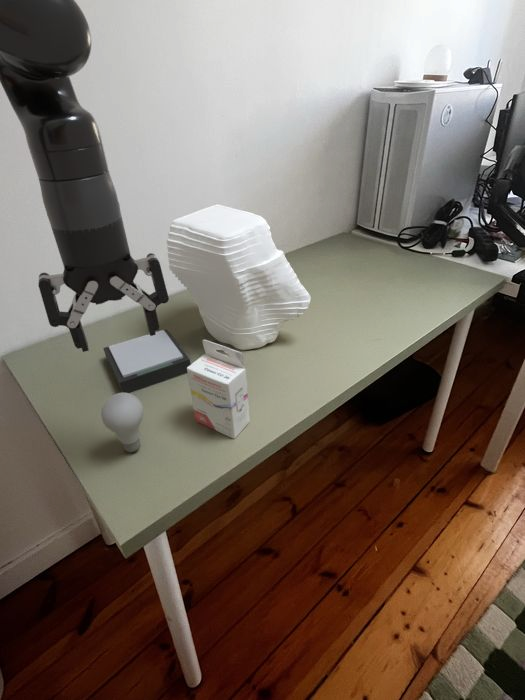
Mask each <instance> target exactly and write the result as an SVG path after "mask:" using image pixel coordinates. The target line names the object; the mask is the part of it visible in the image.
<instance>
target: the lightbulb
mask: <svg viewBox="0 0 525 700" xmlns="http://www.w3.org/2000/svg"><path fill="white" fill-rule="evenodd" d="M100 411H101V412H100V417H101V420H102V423H103V425H104V426H105V427H106V428H107V429H108V430H109V431H111V432H112V433H114V434H116V436H117V437H118V439H119V441H120V443H121V444H122V445H123V448H124V450H125V451H126V452H129V453H134V452H136V451H137V450H139V449H140V448H141V439H140V437H141V433H140V426H141V423H142V421H143V418H144V406H143V404H142V401H140V399H139V398H138V397H137V396H135V395H134V394H133V393H122V392H118V393H115V394H112V395H111V396H109V397H108V398H107V399H106V400H105V401H104V403H103V405H102V407H101V410H100Z"/></svg>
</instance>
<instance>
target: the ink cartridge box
mask: <svg viewBox="0 0 525 700" xmlns="http://www.w3.org/2000/svg"><path fill="white" fill-rule="evenodd" d="M201 342H202V346H203V350H204V353H203V355H201V356H200V357H199V358H197V359H196V360H195V361H194V362H192V363H191V365H190V366H189V367H187V372H188V373H187V377H188V383H189V389H190V395H191V401H192V406H193V413H194V418H195V422H197V423H199V424H201V425H203V426H205V427H207V428H210V429H212V430H213V431H216V432H218V433H220V434H223V435H224V436H227V437H229V438H231V439H234V440H235V439H236V438H237V437H238V436H239V435H240V434H241V433H242V432H243V430H244V429H245V428H246V427H247V426H248V424H250V421H251V420H250V419H251V417H250V407H249V395H248V394H249V393H248V384H247V371H246V367H245V361H244V355H243V353H242V352H241V351H239V350H235V349H233V348H230V347H227V346H225V345H221V344H219V343H216V342H213V341H211V340H208V339H202V341H201ZM219 351H223V352H224V353H225V354H223V353H221V352H219ZM226 354H228V355H226Z"/></svg>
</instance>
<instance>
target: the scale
mask: <svg viewBox="0 0 525 700" xmlns="http://www.w3.org/2000/svg"><path fill="white" fill-rule="evenodd" d="M155 334H156V335H153V336H150V334H145V335H142V336H138V337H135V338H132V339H129V340H125V341H121V342H118V343H115V344H111V345H108V346H105V347H103V349H102V350H103V351H104V356H105V359H106V361H107V363H108V366H109V368H110V370H111V373H112V374H113V376H114V379H115V381H116V383H117V385H118V387H119V389H120V393H129V394H131V393H134V392H136V391H138V390H141V389H144V388H147V387H151V386H153V385H156V384H159V383H161V382H165V381H167V380H170V379H173V378H176V377H179V376H182V375H184V374H188V372H187V367H189V366H190V365H191V364H192V363H191V358H190V357H189V356H188V355H187V353H186V351H184V349H183V348H182V347H181V346H180V344H179V342H178V341H177V339H176V338H175V337H174V336H173V335H172V333H171V332H170V330H169V329H168V328H165V329H162V330H157V331H155Z"/></svg>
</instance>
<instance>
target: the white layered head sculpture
mask: <svg viewBox="0 0 525 700" xmlns="http://www.w3.org/2000/svg"><path fill="white" fill-rule="evenodd" d="M272 234H273V233H272V232H271V226H270V225H269V224H268V222H267V220H266V219H265V218H264V217H263V216H261V215H260V214H255V213H253V212H250V211H246V210H243V209H238V208H234V207H230V206H227V205H222V204H218V203H216V204H213V205H210V206H207V207H205V208H202V209H200V210H196V211H194V212H191V213H189V214H186V215H182V216H181V217H178V218H175V219H174V220H172V224H170V225H169V232H168V233H167V235H168V239H166V244H167V247H166V248H167V257H168V259H167V260H168V262H169V263H168V264H169V265H168V268H169V271H171V273H172V274H174V276H175V278H177V280H178V281H179V282H180V284H182V285H183V287H185V288H186V290H187V291H188V294H189V297H190V298H191V299H192V301H193V302H194V303H195V304H196V306H197V308H198V311H199V312H198V313H199V314H200V317H201V318H202V321H203V324H204V326H205V327H206V331H207V332H208V333H209V334H210V335H211V336H212V337H213V338H214V339H215V340H217V341H218V342H220V343H224V344H228V345H231V346H232V347H234V348H235V349H237V350H242V351H247V350H252V349H259V348H262V347H264V346H266V345H267V344H270V343H273V342H275V341H276V339H277V338H278V335H279V334H280V332H281V331H282V330H281V329H282V328H283V326H284V324H285V322H288V321H294V320H295V319H297V318H300V317H301V316H303V315H304V313H306V312H307V310H308V309H309V307H310V305H311V299H312V297H311V295H310V293H309V292H308V291H307V288H305V286H304V285H303V284H302V283H301V280H300V279H299V278H298V275H297V274H296V272H295V271H294V268H292V266H291V263H290V262H289V261H288V260H287V258H286V255H285V252H284V251H283V250H281V249H277V247H276V244H275V241H274V240H273V238H272Z"/></svg>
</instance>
